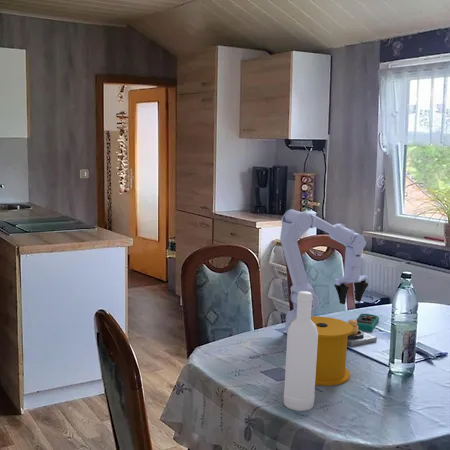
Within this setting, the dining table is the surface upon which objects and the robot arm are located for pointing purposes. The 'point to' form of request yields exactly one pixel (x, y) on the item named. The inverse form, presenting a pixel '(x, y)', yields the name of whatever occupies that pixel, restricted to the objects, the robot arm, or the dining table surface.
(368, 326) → the digital multimeter
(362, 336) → the junction plate
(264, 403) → the dining table surface
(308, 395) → the bottle
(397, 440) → the dining table surface
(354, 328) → the orange rounded knob
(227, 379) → the dining table surface
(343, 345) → the spool
